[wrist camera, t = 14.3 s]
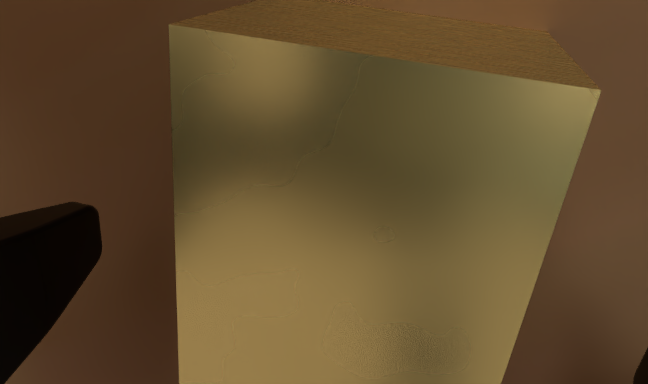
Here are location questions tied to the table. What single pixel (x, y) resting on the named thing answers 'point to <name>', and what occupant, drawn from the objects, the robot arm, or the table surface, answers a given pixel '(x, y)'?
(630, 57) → the table surface
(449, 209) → the tan rectangular block
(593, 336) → the table surface
